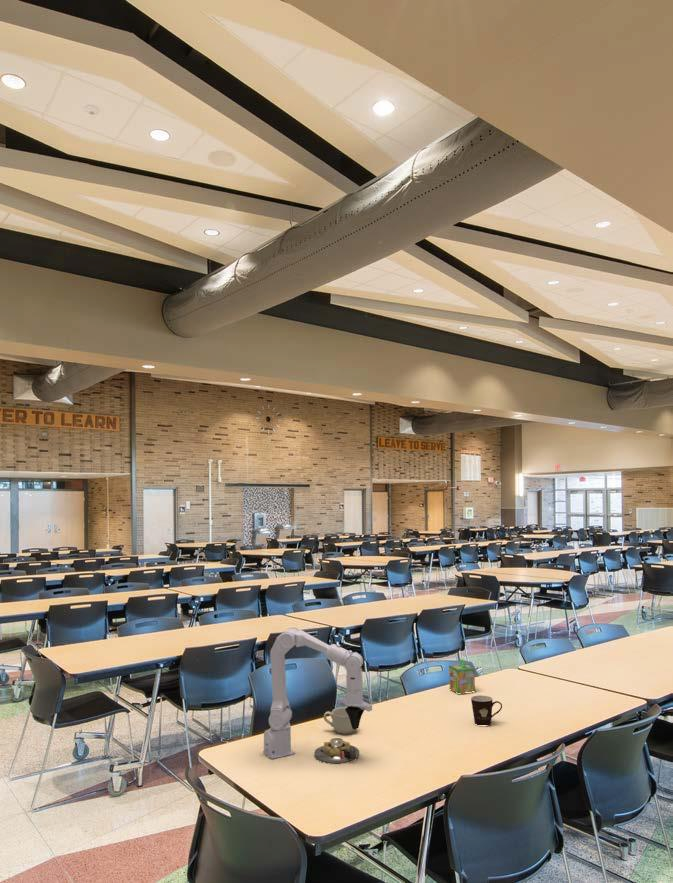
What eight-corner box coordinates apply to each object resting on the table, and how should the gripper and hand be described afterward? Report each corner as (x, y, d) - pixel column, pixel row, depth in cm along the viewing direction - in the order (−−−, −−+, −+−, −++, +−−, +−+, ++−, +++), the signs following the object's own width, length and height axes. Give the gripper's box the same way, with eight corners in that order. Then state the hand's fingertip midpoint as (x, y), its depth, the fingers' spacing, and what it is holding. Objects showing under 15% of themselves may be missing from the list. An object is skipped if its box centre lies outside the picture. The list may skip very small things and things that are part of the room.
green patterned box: (449, 690, 312) (448, 658, 313) (466, 688, 314) (465, 656, 316) (458, 695, 303) (457, 662, 304) (476, 693, 306) (474, 660, 307)
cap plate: (327, 767, 221) (327, 751, 222) (306, 752, 235) (306, 737, 235) (367, 757, 229) (367, 742, 229) (345, 744, 243) (344, 729, 243)
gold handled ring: (318, 751, 233) (318, 742, 233) (338, 744, 238) (338, 736, 239) (344, 762, 221) (344, 753, 222) (364, 756, 227) (364, 746, 227)
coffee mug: (469, 725, 260) (468, 700, 261) (475, 719, 267) (474, 694, 269) (498, 729, 255) (497, 703, 256) (503, 723, 262) (502, 697, 263)
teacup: (362, 728, 260) (361, 707, 261) (355, 737, 250) (355, 715, 251) (328, 725, 264) (328, 705, 265) (321, 734, 253) (320, 713, 254)
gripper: (332, 687, 234) (332, 726, 232) (362, 694, 224) (363, 735, 222) (345, 683, 239) (346, 721, 237) (375, 690, 229) (376, 730, 228)
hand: (355, 728), depth 230 cm, fingers closed
